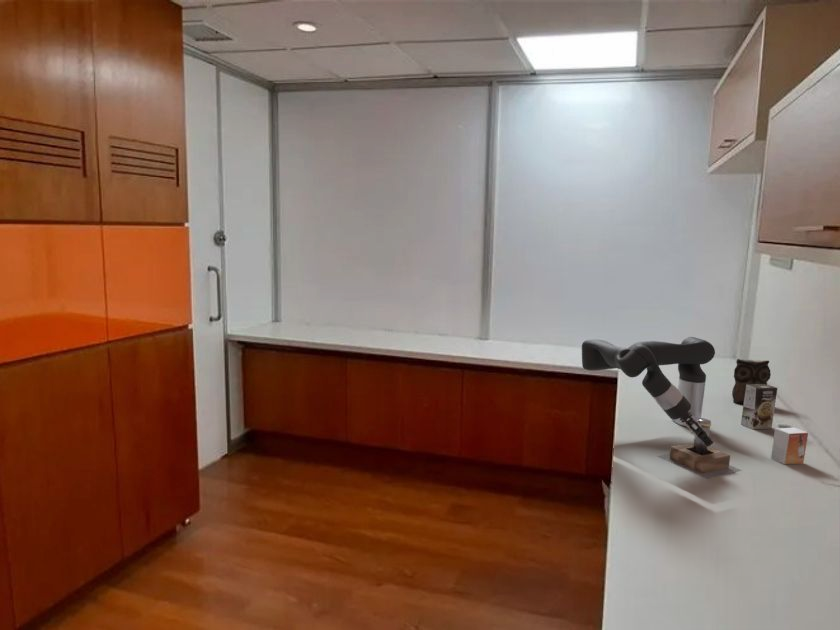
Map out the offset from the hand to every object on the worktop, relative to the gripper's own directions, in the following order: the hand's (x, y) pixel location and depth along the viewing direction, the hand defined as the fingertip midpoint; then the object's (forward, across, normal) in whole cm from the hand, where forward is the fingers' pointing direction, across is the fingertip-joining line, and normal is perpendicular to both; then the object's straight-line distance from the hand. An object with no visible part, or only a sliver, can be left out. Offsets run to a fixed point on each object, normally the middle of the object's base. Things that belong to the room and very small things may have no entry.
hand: (707, 441), depth 187 cm
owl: (+37, -84, +25) cm, 96 cm away
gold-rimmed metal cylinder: (+2, 0, -5) cm, 6 cm away
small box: (+27, -14, +15) cm, 34 cm away
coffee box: (+30, -50, +18) cm, 61 cm away
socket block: (+4, 0, -6) cm, 7 cm away
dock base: (+5, 0, -7) cm, 9 cm away
